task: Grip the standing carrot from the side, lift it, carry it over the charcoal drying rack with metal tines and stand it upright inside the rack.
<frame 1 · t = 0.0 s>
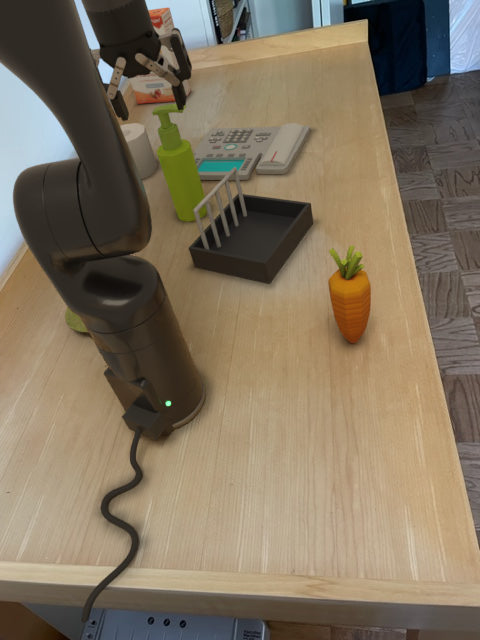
hand: (153, 112, 79), 22 cm above the table, tool pointing down, fingers open, 8 cm apart
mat: (105, 314, 83), on the table
drying rack: (254, 245, 88), on the table
office telephone: (245, 155, 112), on the table
cracker box: (164, 99, 143), on the table
carrot: (353, 343, 69), on the table
soap dispenser: (196, 213, 99), on the table
toilet tissue: (131, 173, 116), on the table
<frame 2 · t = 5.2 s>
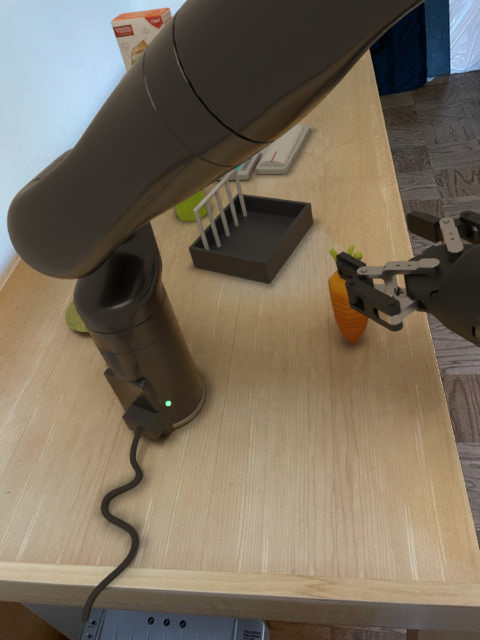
hand: (375, 240, 52), 20 cm above the table, tool horizontal, fingers open, 8 cm apart
nothing on the table moved.
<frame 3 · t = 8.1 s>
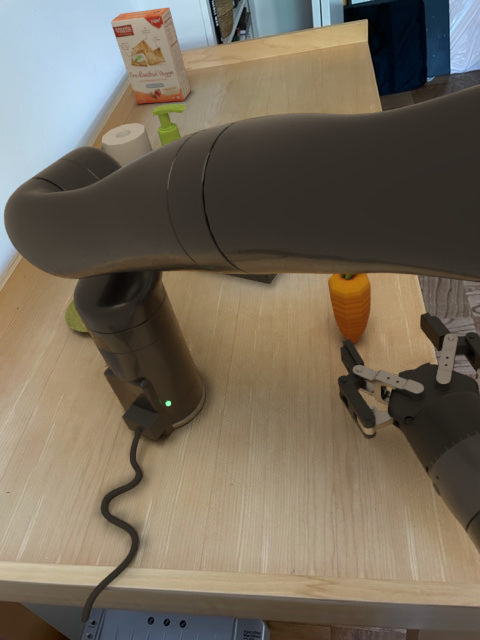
hand: (384, 332, 55), 11 cm above the table, tool horizontal, fingers open, 8 cm apart
nothing on the table moved.
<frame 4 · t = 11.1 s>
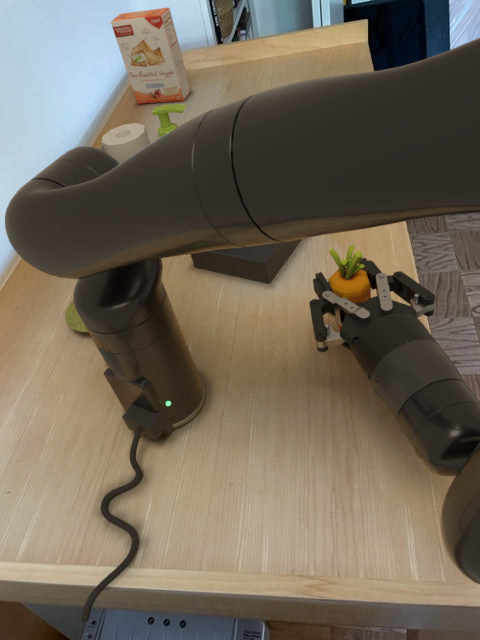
hand: (340, 271, 64), 10 cm above the table, tool horizontal, fingers closed on carrot, 5 cm apart
carrot: (353, 343, 69), on the table, touching gripper
everything else where it was.
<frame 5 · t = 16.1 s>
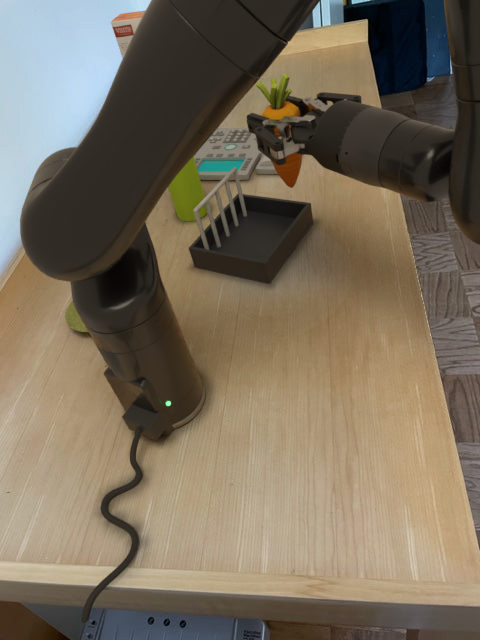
hand: (266, 112, 68), 24 cm above the table, tool horizontal, fingers closed on carrot, 5 cm apart
carrot: (291, 188, 73), point 13 cm above the table, touching gripper
everything else where it was.
when the fingers open (11 cm above the table, at t = 21.3 s): carrot stays where it is, resting on drying rack.
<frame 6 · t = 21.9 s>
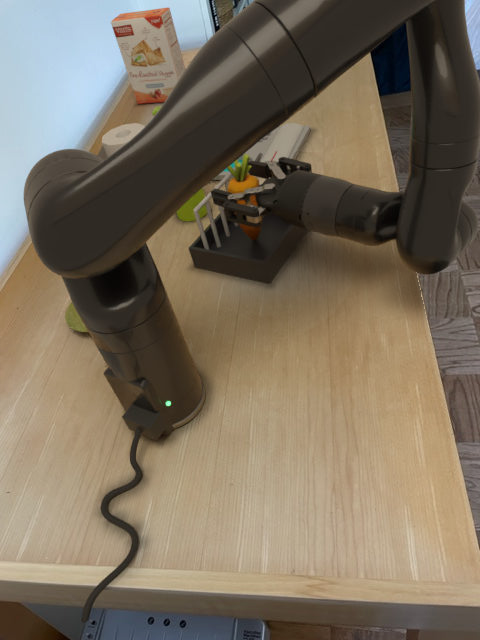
hand: (231, 181, 82), 12 cm above the table, tool horizontal, fingers open, 8 cm apart
carrot: (255, 241, 88), point 1 cm above the table, touching drying rack
everything else where it was.
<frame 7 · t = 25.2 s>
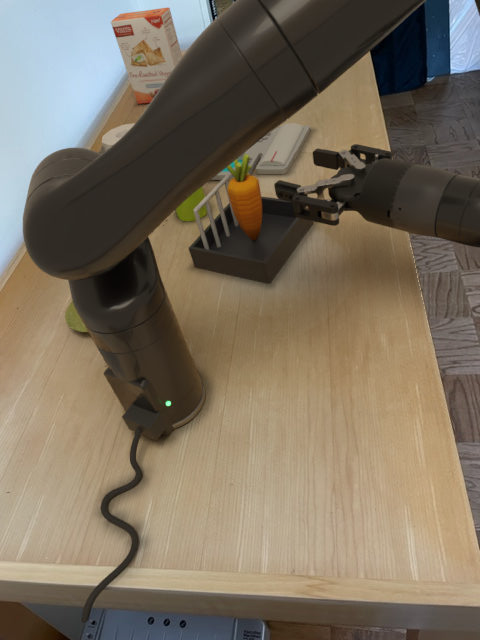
hand: (295, 172, 70), 16 cm above the table, tool horizontal, fingers open, 8 cm apart
nothing on the table moved.
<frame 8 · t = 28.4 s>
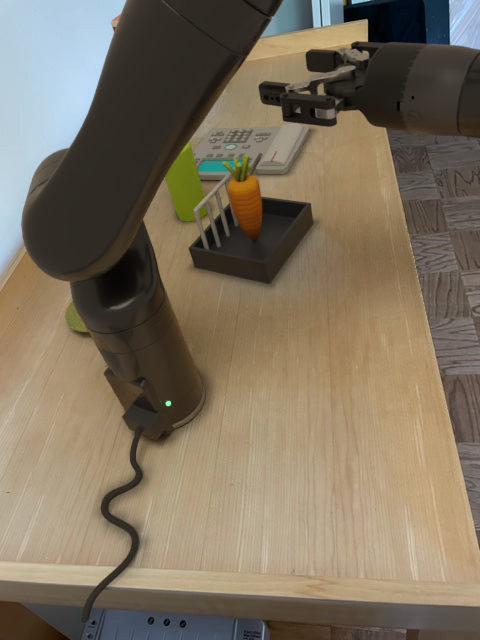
hand: (285, 75, 59), 30 cm above the table, tool horizontal, fingers open, 8 cm apart
nothing on the table moved.
at the end: carrot inside the target area on the drying rack (0.1 cm from its centre), point 0.8 cm above the drying rack's base; carrot tilted 0° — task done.
